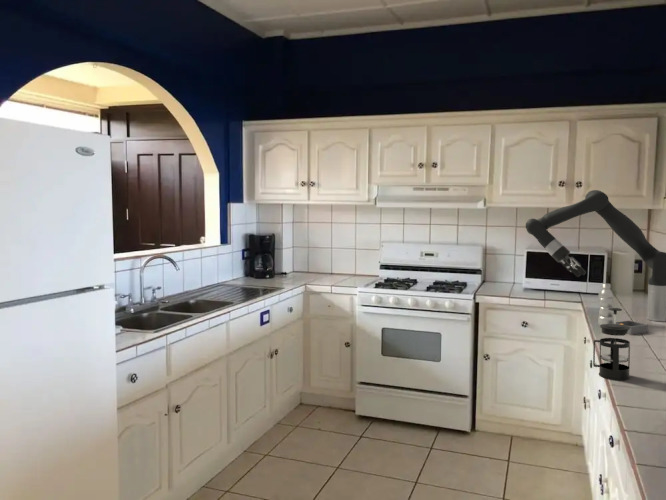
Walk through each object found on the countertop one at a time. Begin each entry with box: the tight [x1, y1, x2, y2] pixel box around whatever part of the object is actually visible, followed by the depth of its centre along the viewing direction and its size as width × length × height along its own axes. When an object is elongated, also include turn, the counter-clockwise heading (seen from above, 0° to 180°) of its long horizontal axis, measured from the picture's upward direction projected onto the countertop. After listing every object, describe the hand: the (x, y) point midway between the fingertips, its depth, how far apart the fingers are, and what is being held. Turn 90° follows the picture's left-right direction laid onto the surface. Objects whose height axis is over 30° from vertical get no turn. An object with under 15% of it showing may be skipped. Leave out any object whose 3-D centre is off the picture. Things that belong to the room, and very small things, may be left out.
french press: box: [592, 307, 631, 381], centre depth 187 cm, size 12×9×23 cm
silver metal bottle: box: [597, 283, 615, 326], centre depth 261 cm, size 6×7×20 cm
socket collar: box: [612, 320, 649, 336], centre depth 251 cm, size 10×10×4 cm
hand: (582, 275), depth 268 cm, fingers open, 8 cm apart
